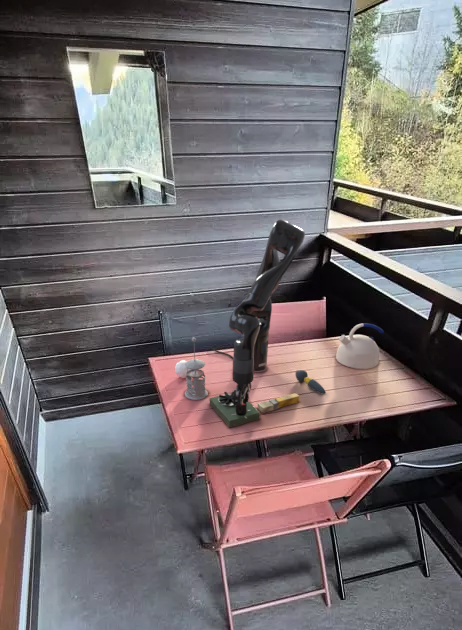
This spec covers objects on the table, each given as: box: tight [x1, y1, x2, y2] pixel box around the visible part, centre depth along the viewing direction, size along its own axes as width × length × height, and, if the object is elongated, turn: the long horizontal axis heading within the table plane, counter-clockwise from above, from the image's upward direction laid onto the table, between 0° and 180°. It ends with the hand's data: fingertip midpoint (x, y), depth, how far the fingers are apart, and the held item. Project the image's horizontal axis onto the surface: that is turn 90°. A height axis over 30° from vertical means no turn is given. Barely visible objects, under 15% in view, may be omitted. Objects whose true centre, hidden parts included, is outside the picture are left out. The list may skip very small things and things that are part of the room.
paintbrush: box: [295, 369, 327, 395], centre depth 189 cm, size 20×5×5 cm, turn 38°
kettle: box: [335, 322, 385, 370], centre depth 206 cm, size 20×21×18 cm
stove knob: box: [236, 400, 247, 416], centre depth 166 cm, size 4×4×5 cm
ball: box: [174, 359, 192, 379], centre depth 194 cm, size 8×8×8 cm
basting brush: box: [257, 392, 300, 414], centre depth 177 cm, size 17×4×3 cm, turn 117°
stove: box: [208, 392, 261, 428], centre depth 172 cm, size 19×13×3 cm
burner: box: [218, 391, 236, 407], centre depth 174 cm, size 9×9×2 cm
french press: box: [184, 337, 209, 401], centre depth 178 cm, size 10×12×25 cm
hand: (242, 406), depth 166 cm, fingers open, 8 cm apart
